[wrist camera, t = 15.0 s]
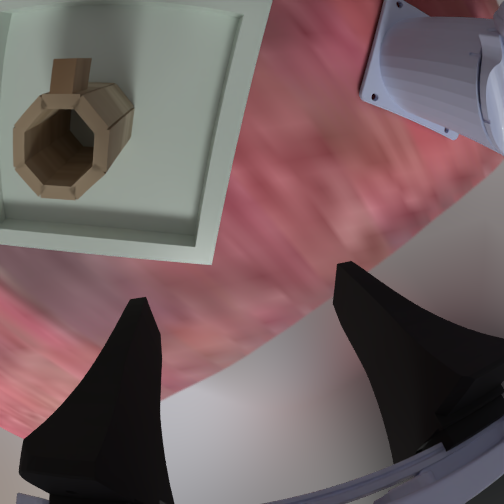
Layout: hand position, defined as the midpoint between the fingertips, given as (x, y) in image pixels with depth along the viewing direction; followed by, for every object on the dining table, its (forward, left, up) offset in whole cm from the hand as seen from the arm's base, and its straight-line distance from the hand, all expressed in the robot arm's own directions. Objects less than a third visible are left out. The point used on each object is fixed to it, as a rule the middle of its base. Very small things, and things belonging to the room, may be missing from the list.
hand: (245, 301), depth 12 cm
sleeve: (+8, -4, -9) cm, 13 cm away
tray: (+8, -4, -10) cm, 13 cm away
